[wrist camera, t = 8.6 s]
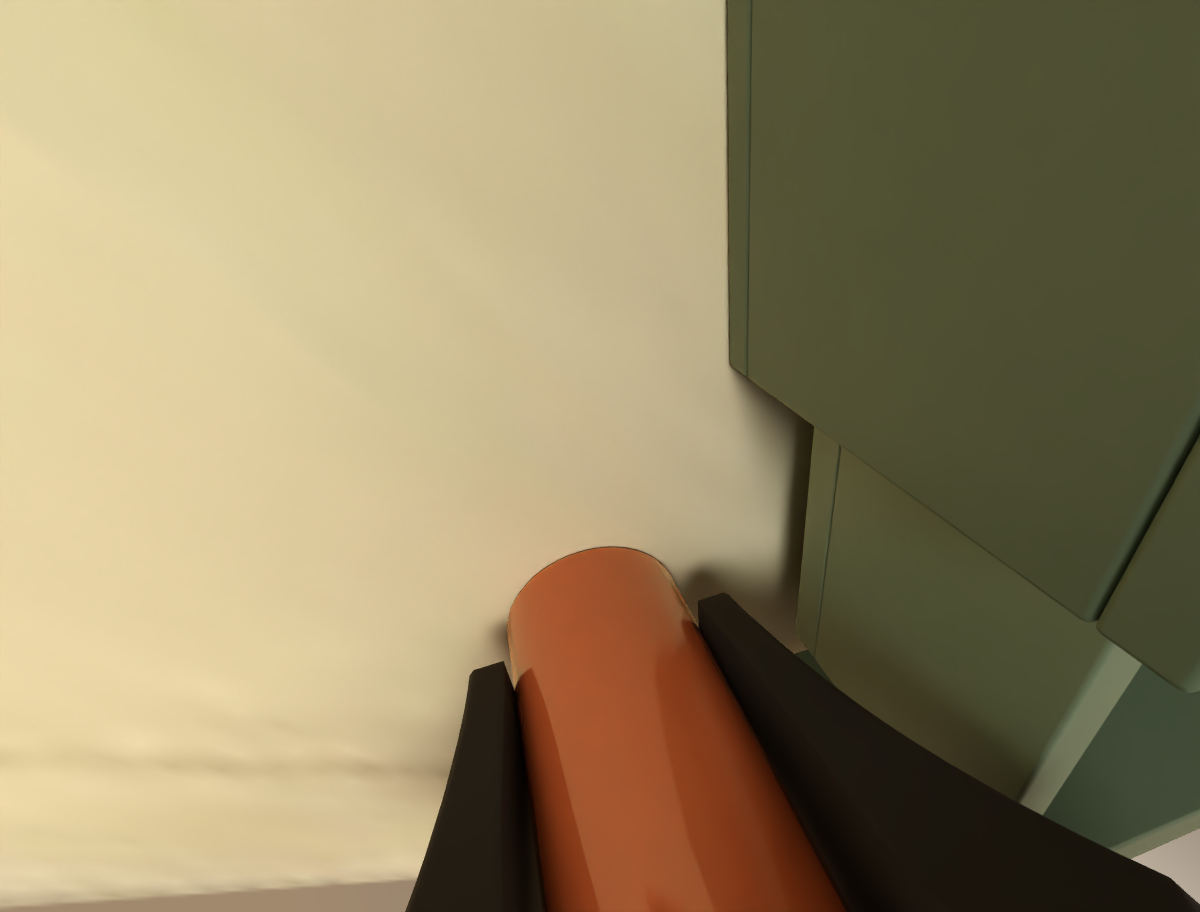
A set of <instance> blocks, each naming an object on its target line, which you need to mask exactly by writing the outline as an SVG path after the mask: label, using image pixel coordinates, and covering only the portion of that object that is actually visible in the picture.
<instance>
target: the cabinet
mask: <svg viewBox="0 0 1200 912" xmlns="http://www.w3.org/2000/svg"><path fill="white" fill-rule="evenodd" d="M728 132H729V267H730V364H731V366H732V367H733V368H735V369H736V370H737V371H739V372H740V373H742V374H743V375H744V376H748V377H749V379H750V380H751V381H752V382H754V383H755V384H757V385H758V386H759V387H761V388H762V389H763V390H765V391H766V392H768V393H769V394H770V395H772V396H773V397H774V398H776V399H777V400H779V401H780V402H781V403H783V404H784V405H785V406H787V407H788V408H790V409H791V410H792V411H794V412H795V413H797V414H798V415H799V416H801V417H802V418H803V419H805V420H806V421H808V422H809V423H810V424H812V425H813V426H814V427H816V428H817V429H819V430H820V431H821V432H823V433H824V434H825V435H827V436H828V437H830V438H831V439H832V440H834V441H835V442H836V443H838V444H839V445H841V446H842V447H843V448H845V449H846V450H848V451H849V452H850V453H852V454H853V455H854V456H856V457H857V458H859V459H860V460H861V461H863V462H864V463H865V464H867V465H868V466H870V467H871V468H872V469H874V470H875V471H876V472H878V473H879V474H881V475H882V476H883V477H885V478H886V479H887V480H889V481H890V482H892V483H893V484H894V485H896V486H897V487H899V488H900V489H901V490H903V491H904V492H905V493H907V494H908V495H910V496H911V497H912V498H914V499H915V500H916V501H918V502H919V503H921V504H922V505H923V506H925V507H926V508H927V509H929V510H930V511H932V512H933V513H934V514H936V515H937V516H938V517H940V518H941V519H943V520H944V521H945V522H947V523H948V524H950V525H951V526H952V527H954V528H955V529H956V530H958V531H959V532H961V533H962V534H963V535H965V536H966V537H967V538H969V539H970V540H972V541H973V542H974V543H976V544H977V545H978V546H980V547H981V548H983V549H984V550H985V551H987V552H988V553H989V554H991V555H992V556H994V557H995V558H996V559H998V560H999V561H1000V562H1002V563H1003V564H1005V565H1006V566H1007V567H1009V568H1010V569H1012V570H1013V571H1014V572H1016V573H1017V574H1018V575H1020V576H1021V577H1023V578H1024V579H1025V580H1027V581H1028V582H1029V583H1031V584H1032V585H1034V586H1035V587H1036V588H1038V589H1039V590H1040V591H1042V592H1043V593H1045V594H1046V595H1047V596H1049V597H1050V598H1051V599H1053V600H1054V601H1056V602H1057V603H1058V604H1060V605H1061V606H1063V607H1064V608H1065V609H1067V610H1068V611H1069V612H1071V613H1072V614H1074V615H1075V616H1076V617H1078V618H1079V619H1081V620H1083V621H1085V622H1096V621H1098V622H1097V623H1096V627H1097V630H1098V631H1099V632H1100V633H1101V634H1102V635H1103V636H1104V637H1106V638H1107V639H1108V640H1110V641H1111V642H1113V643H1114V644H1115V645H1117V646H1118V647H1119V648H1121V649H1122V650H1124V651H1125V652H1126V653H1128V654H1129V655H1131V656H1132V657H1133V658H1135V659H1136V660H1137V661H1139V662H1140V663H1142V664H1143V665H1144V666H1146V667H1147V668H1148V669H1150V670H1151V671H1153V672H1154V673H1155V674H1157V675H1158V676H1159V677H1161V678H1162V679H1164V680H1165V681H1166V682H1168V683H1169V684H1170V685H1172V686H1173V687H1175V688H1176V689H1179V690H1181V691H1183V692H1185V693H1193V692H1197V691H1200V0H728Z"/></svg>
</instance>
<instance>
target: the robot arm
mask: <svg viewBox="0 0 1200 912" xmlns="http://www.w3.org/2000/svg"><path fill="white" fill-rule="evenodd" d="M698 618H699V628H700V630H701V632H702V634H703V636H704V638H705V640H706V641H707V643H708V645H709V647H710V649H711V651H712V653H713V654H714V656H715V658H716V660H717V662H718V664H719V666H720V667H721V669H722V671H723V673H724V675H725V677H726V679H727V680H728V682H729V684H730V686H731V688H732V690H733V692H734V693H735V695H736V697H737V699H738V701H739V703H740V705H741V706H742V708H743V710H744V712H745V714H746V716H747V718H748V719H749V721H750V723H751V725H752V727H753V729H754V731H755V732H756V734H757V736H758V738H759V740H760V742H761V744H762V745H763V747H764V749H765V751H766V753H767V755H768V757H769V758H770V760H771V762H772V764H773V766H774V768H775V770H776V771H777V773H778V775H779V777H780V779H781V781H782V783H783V784H784V786H785V788H786V790H787V792H788V794H789V796H790V797H791V799H792V801H793V803H794V805H795V807H796V809H797V810H798V812H799V814H800V816H801V818H802V820H803V822H804V823H805V825H806V827H807V829H808V831H809V833H810V835H811V836H812V838H813V840H814V842H815V844H816V846H817V848H818V849H819V851H820V853H821V855H822V857H823V859H824V861H825V862H826V864H827V866H828V868H829V870H830V872H831V874H832V875H833V877H834V879H835V881H836V883H837V885H838V887H839V888H840V890H841V892H842V894H843V896H844V898H845V900H846V901H847V903H848V905H849V907H850V909H851V911H852V912H1200V904H1199V903H1198V902H1196V901H1195V900H1194V899H1193V898H1192V897H1190V895H1188V894H1187V893H1186V892H1185V891H1184V890H1183V889H1182V888H1181V887H1180V886H1178V885H1177V884H1176V883H1175V882H1174V881H1173V880H1172V879H1171V878H1169V877H1167V876H1165V875H1163V874H1161V873H1159V872H1157V871H1155V870H1152V869H1150V868H1148V867H1146V866H1144V865H1142V864H1140V863H1138V862H1135V861H1133V860H1131V859H1129V858H1127V857H1125V856H1123V855H1121V854H1119V853H1117V852H1114V851H1112V850H1110V849H1108V848H1106V847H1104V846H1102V845H1100V844H1098V843H1096V842H1094V841H1092V840H1090V839H1088V838H1086V837H1084V836H1082V835H1080V834H1078V833H1076V832H1074V831H1072V830H1070V829H1068V828H1066V827H1064V826H1062V825H1060V824H1058V823H1056V822H1054V821H1053V820H1051V819H1049V818H1047V817H1045V816H1043V815H1041V814H1039V813H1037V812H1035V811H1033V810H1031V809H1030V808H1028V807H1026V806H1024V805H1022V804H1020V803H1018V802H1016V801H1015V800H1013V799H1011V798H1009V797H1008V796H1006V795H1004V794H1002V793H1001V792H999V791H997V790H995V789H993V788H992V787H990V786H988V785H986V784H985V783H983V782H981V781H979V780H978V779H976V778H974V777H972V776H971V775H969V774H967V773H965V772H964V771H962V770H960V769H958V768H956V767H955V766H953V765H951V764H950V763H948V762H946V761H945V760H943V759H941V758H940V757H938V756H937V755H935V754H933V753H932V752H930V751H929V750H927V749H925V748H924V747H922V746H921V745H919V744H917V743H916V742H914V741H913V740H911V739H910V738H908V737H906V736H905V735H903V734H902V733H900V732H899V731H897V730H896V729H894V728H893V727H891V726H890V725H888V724H887V723H885V722H884V721H882V720H881V719H879V718H878V717H877V716H875V715H874V714H872V713H871V712H869V711H868V710H867V709H865V708H864V707H862V706H861V705H860V704H858V703H857V702H855V701H854V700H853V699H851V698H850V697H849V696H847V695H846V694H845V693H843V692H842V691H841V690H839V689H838V688H837V687H835V686H834V685H833V684H831V683H830V682H829V681H827V680H826V679H825V678H824V677H822V676H821V675H820V674H818V673H817V672H816V671H815V670H813V669H812V668H811V667H810V666H808V665H807V664H806V663H805V662H804V661H802V660H801V659H800V658H799V657H797V656H796V655H795V654H794V653H792V652H791V651H790V650H789V649H788V648H786V647H785V646H784V645H783V644H782V643H781V642H779V641H778V640H777V639H776V638H775V637H774V636H772V635H771V634H770V633H769V632H768V631H767V630H766V629H765V628H763V627H762V626H761V625H760V624H759V623H758V622H757V621H756V620H754V619H753V618H752V617H751V616H750V615H749V614H748V613H747V612H746V611H745V610H744V609H743V608H741V607H740V606H739V605H738V604H737V603H736V602H735V601H734V600H733V599H732V598H731V597H730V596H729V595H727V594H725V593H721V594H718V595H715V596H711V597H708V598H705V599H702V600H698ZM405 912H543V911H542V903H541V896H540V888H539V880H538V872H537V864H536V856H535V848H534V840H533V832H532V825H531V817H530V809H529V801H528V793H527V785H526V777H525V769H524V761H523V754H522V745H521V736H520V728H519V720H518V712H517V705H516V697H515V690H514V688H513V685H512V682H511V680H510V677H509V675H508V672H507V669H506V667H505V664H504V661H502V662H499V663H496V664H492V665H489V666H486V667H483V668H480V669H476V670H474V671H473V672H472V673H471V675H470V677H469V685H468V692H467V698H466V704H465V709H464V714H463V719H462V724H461V729H460V733H459V738H458V742H457V746H456V750H455V754H454V758H453V762H452V766H451V770H450V774H449V777H448V781H447V785H446V789H445V793H444V796H443V800H442V803H441V806H440V810H439V813H438V816H437V819H436V822H435V826H434V829H433V832H432V835H431V839H430V842H429V845H428V848H427V852H426V855H425V858H424V861H423V863H422V866H421V869H420V872H419V875H418V878H417V881H416V884H415V887H414V889H413V893H412V895H411V898H410V901H409V903H408V906H407V908H406V911H405Z"/></svg>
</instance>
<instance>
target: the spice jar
mask: <svg viewBox="0 0 1200 912" xmlns="http://www.w3.org/2000/svg"><path fill="white" fill-rule="evenodd" d="M507 635H508V643H509V651H510V659H511V667H512V675H513V683H514V690H515V697H516V705H517V712H518V720H519V728H520V736H521V745H522V754H523V761H524V769H525V777H526V785H527V793H528V801H529V809H530V817H531V825H532V832H533V840H534V848H535V856H536V864H537V872H538V880H539V888H540V896H541V903H542V911H543V912H852V911H851V909H850V907H849V905H848V903H847V901H846V900H845V898H844V896H843V894H842V892H841V890H840V888H839V887H838V885H837V883H836V881H835V879H834V877H833V875H832V874H831V872H830V870H829V868H828V866H827V864H826V862H825V861H824V859H823V857H822V855H821V853H820V851H819V849H818V848H817V846H816V844H815V842H814V840H813V838H812V836H811V835H810V833H809V831H808V829H807V827H806V825H805V823H804V822H803V820H802V818H801V816H800V814H799V812H798V810H797V809H796V807H795V805H794V803H793V801H792V799H791V797H790V796H789V794H788V792H787V790H786V788H785V786H784V784H783V783H782V781H781V779H780V777H779V775H778V773H777V771H776V770H775V768H774V766H773V764H772V762H771V760H770V758H769V757H768V755H767V753H766V751H765V749H764V747H763V745H762V744H761V742H760V740H759V738H758V736H757V734H756V732H755V731H754V729H753V727H752V725H751V723H750V721H749V719H748V718H747V716H746V714H745V712H744V710H743V708H742V706H741V705H740V703H739V701H738V699H737V697H736V695H735V693H734V692H733V690H732V688H731V686H730V684H729V682H728V680H727V679H726V677H725V675H724V673H723V671H722V669H721V667H720V666H719V664H718V662H717V660H716V658H715V656H714V654H713V653H712V651H711V649H710V647H709V645H708V643H707V641H706V640H705V638H704V636H703V634H702V632H701V630H700V628H699V627H698V625H697V623H696V621H695V619H694V617H693V615H692V614H691V612H690V610H689V608H688V606H687V604H686V602H685V601H684V599H683V597H682V595H681V593H680V591H679V589H678V588H677V586H676V584H675V582H674V580H673V578H672V576H671V575H670V573H669V572H668V570H667V569H666V568H665V567H664V566H663V565H662V564H661V563H660V562H659V561H657V560H656V559H655V558H653V557H651V556H649V555H647V554H645V553H642V552H640V551H637V550H632V549H628V548H619V547H604V548H596V549H590V550H586V551H582V552H578V553H575V554H572V555H569V556H567V557H565V558H563V559H560V560H558V561H556V562H555V563H553V564H551V565H549V566H548V567H546V568H545V569H543V570H542V571H541V572H539V573H538V574H537V575H536V576H534V577H533V578H532V579H531V580H530V581H529V582H528V583H527V584H526V585H525V587H524V588H523V589H522V590H521V591H520V593H519V594H518V596H517V597H516V599H515V601H514V603H513V605H512V607H511V610H510V613H509V616H508V622H507Z"/></svg>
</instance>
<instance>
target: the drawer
mask: <svg viewBox="0 0 1200 912" xmlns="http://www.w3.org/2000/svg"><path fill="white" fill-rule="evenodd" d="M1097 622H1098V621H1096V622H1085V621H1083V620H1081V619H1079V618H1078V617H1076V616H1075V615H1074V614H1072V613H1071V612H1069V611H1068V610H1067V609H1065V608H1064V607H1063V606H1061V605H1060V604H1058V603H1057V602H1056V601H1054V600H1053V599H1051V598H1050V597H1049V596H1047V595H1046V594H1045V593H1043V592H1042V591H1040V590H1039V589H1038V588H1036V587H1035V586H1034V585H1032V584H1031V583H1029V582H1028V581H1027V580H1025V579H1024V578H1023V577H1021V576H1020V575H1018V574H1017V573H1016V572H1014V571H1013V570H1012V569H1010V568H1009V567H1007V566H1006V565H1005V564H1003V563H1002V562H1000V561H999V560H998V559H996V558H995V557H994V556H992V555H991V554H989V553H988V552H987V551H985V550H984V549H983V548H981V547H980V546H978V545H977V544H976V543H974V542H973V541H972V540H970V539H969V538H967V537H966V536H965V535H963V534H962V533H961V532H959V531H958V530H956V529H955V528H954V527H952V526H951V525H950V524H948V523H947V522H945V521H944V520H943V519H941V518H940V517H938V516H937V515H936V514H934V513H933V512H932V511H930V510H929V509H927V508H926V507H925V506H923V505H922V504H921V503H919V502H918V501H916V500H915V499H914V498H912V497H911V496H910V495H908V494H907V493H905V492H904V491H903V490H901V489H900V488H899V487H897V486H896V485H894V484H893V483H892V482H890V481H889V480H887V479H886V478H885V477H883V476H882V475H881V474H879V473H878V472H876V471H875V470H874V469H872V468H871V467H870V466H868V465H867V464H865V463H864V462H863V461H861V460H860V459H859V458H857V457H856V456H854V455H853V454H852V453H850V452H849V451H848V450H846V449H845V448H843V447H842V446H841V445H839V444H838V443H836V442H835V441H834V440H832V439H831V438H830V437H828V436H827V435H825V434H824V433H823V432H821V431H820V430H819V429H817V428H816V427H814V434H813V445H812V456H811V468H810V479H809V490H808V501H807V512H806V523H805V534H804V545H803V556H802V567H801V578H800V589H799V600H798V611H797V622H796V634H797V636H798V637H799V638H800V640H801V641H802V642H803V644H804V645H805V647H806V648H807V649H808V650H805V651H802V652H799V653H796V654H795V655H796V656H797V657H799V658H800V659H801V660H802V661H804V662H805V663H806V664H807V665H808V666H810V667H811V668H812V669H813V670H815V671H816V672H817V673H818V674H820V675H821V676H822V677H824V678H825V679H826V680H827V681H829V682H830V683H831V684H833V685H834V686H835V687H837V688H838V689H839V690H841V691H842V692H843V693H845V694H846V695H847V696H849V697H850V698H851V699H853V700H854V701H855V702H857V703H858V704H860V705H861V706H862V707H864V708H865V709H867V710H868V711H869V712H871V713H872V714H874V715H875V716H877V717H878V718H879V719H881V720H882V721H884V722H885V723H887V724H888V725H890V726H891V727H893V728H894V729H896V730H897V731H899V732H900V733H902V734H903V735H905V736H906V737H908V738H910V739H911V740H913V741H914V742H916V743H917V744H919V745H921V746H922V747H924V748H925V749H927V750H929V751H930V752H932V753H933V754H935V755H937V756H938V757H940V758H941V759H943V760H945V761H946V762H948V763H950V764H951V765H953V766H955V767H956V768H958V769H960V770H962V771H964V772H965V773H967V774H969V775H971V776H972V777H974V778H976V779H978V780H979V781H981V782H983V783H985V784H986V785H988V786H990V787H992V788H993V789H995V790H997V791H999V792H1001V793H1002V794H1004V795H1006V796H1008V797H1009V798H1011V799H1013V800H1015V801H1016V802H1018V803H1020V804H1022V805H1024V806H1026V807H1028V808H1030V809H1031V810H1033V811H1035V812H1037V813H1039V814H1041V815H1043V816H1045V817H1047V818H1049V819H1051V820H1053V821H1054V822H1056V823H1058V824H1060V825H1062V826H1064V827H1066V828H1068V829H1070V830H1072V831H1074V832H1076V833H1078V834H1080V835H1082V836H1084V837H1086V838H1088V839H1090V840H1092V841H1094V842H1096V843H1098V844H1100V845H1102V846H1104V847H1106V848H1108V849H1110V850H1112V851H1114V852H1117V853H1119V854H1121V855H1123V856H1125V857H1127V858H1129V859H1131V858H1134V857H1136V856H1138V855H1141V854H1143V853H1145V852H1147V851H1149V850H1152V849H1154V848H1156V847H1159V846H1161V845H1163V844H1165V843H1168V842H1170V841H1172V840H1174V839H1177V838H1179V837H1181V836H1183V835H1186V834H1188V833H1190V832H1192V831H1195V830H1197V829H1199V828H1200V691H1197V692H1193V693H1185V692H1183V691H1181V690H1179V689H1176V688H1175V687H1173V686H1172V685H1170V684H1169V683H1168V682H1166V681H1165V680H1164V679H1162V678H1161V677H1159V676H1158V675H1157V674H1155V673H1154V672H1153V671H1151V670H1150V669H1148V668H1147V667H1146V666H1144V665H1143V664H1142V663H1140V662H1139V661H1137V660H1136V659H1135V658H1133V657H1132V656H1131V655H1129V654H1128V653H1126V652H1125V651H1124V650H1122V649H1121V648H1119V647H1118V646H1117V645H1115V644H1114V643H1113V642H1111V641H1110V640H1108V639H1107V638H1106V637H1104V636H1103V635H1102V634H1101V633H1100V632H1099V631H1098V630H1097V627H1096V623H1097Z"/></svg>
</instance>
